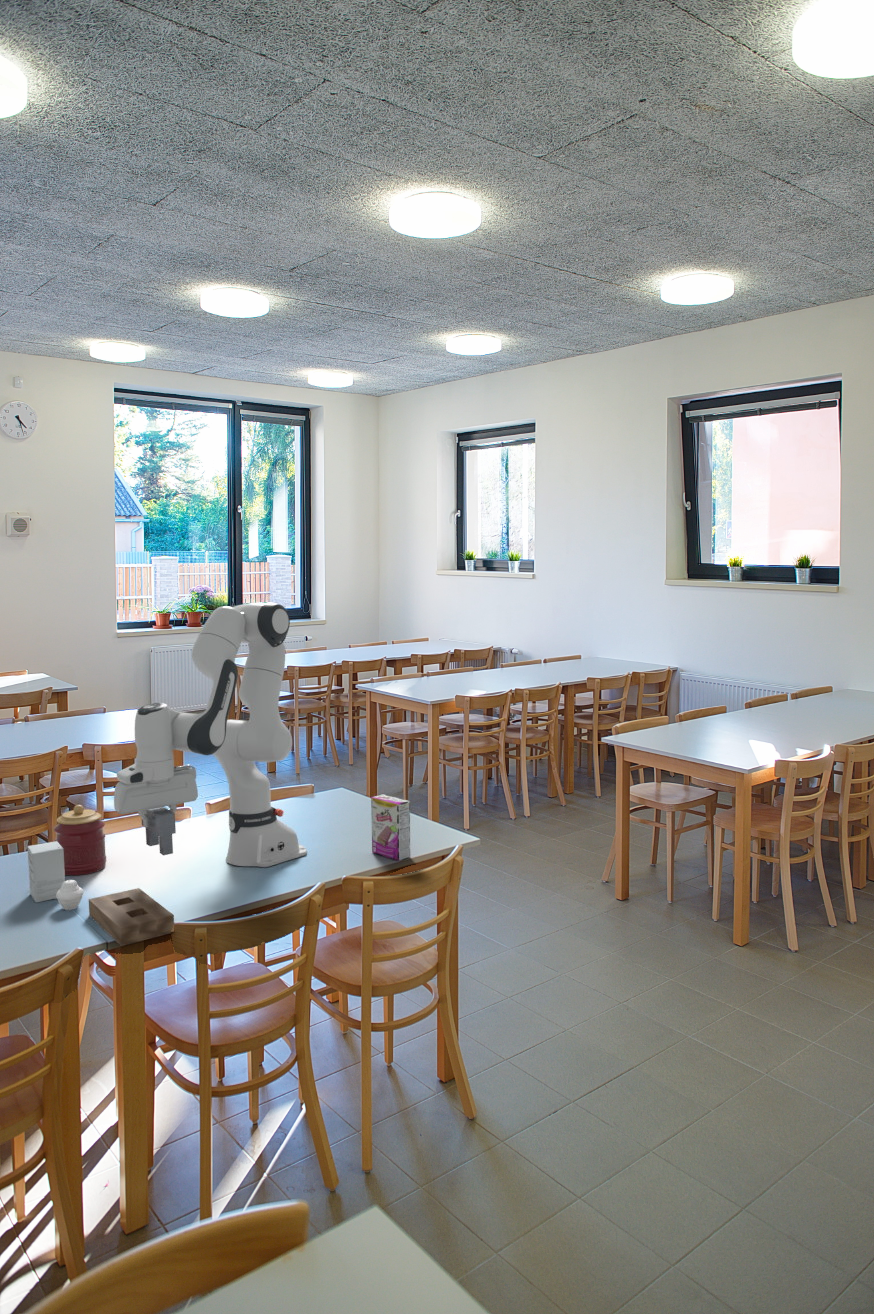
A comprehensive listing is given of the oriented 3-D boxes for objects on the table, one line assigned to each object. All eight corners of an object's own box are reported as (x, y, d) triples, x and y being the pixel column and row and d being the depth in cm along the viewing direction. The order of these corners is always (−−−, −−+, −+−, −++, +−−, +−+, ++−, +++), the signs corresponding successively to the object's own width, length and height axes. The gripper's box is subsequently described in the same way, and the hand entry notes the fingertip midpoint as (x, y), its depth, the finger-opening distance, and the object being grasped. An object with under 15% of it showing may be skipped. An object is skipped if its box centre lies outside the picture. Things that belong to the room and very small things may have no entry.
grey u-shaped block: (158, 841, 236) (156, 803, 235) (176, 853, 226) (174, 813, 225) (142, 844, 233) (140, 805, 232) (160, 856, 224) (158, 816, 223)
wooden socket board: (139, 904, 226) (138, 888, 225) (174, 932, 208) (173, 915, 208) (89, 915, 218) (88, 899, 218) (121, 946, 201) (120, 928, 201)
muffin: (78, 901, 228) (76, 873, 227) (88, 908, 223) (87, 879, 223) (52, 908, 224) (51, 879, 223) (62, 915, 219) (61, 886, 218)
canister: (44, 873, 249) (41, 808, 247) (79, 858, 261) (76, 797, 259) (83, 879, 244) (79, 813, 242) (117, 863, 256) (114, 801, 254)
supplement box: (60, 888, 237) (58, 840, 235) (66, 897, 231) (64, 848, 229) (29, 894, 233) (26, 845, 231) (34, 903, 227) (31, 853, 225)
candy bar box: (370, 853, 263) (370, 797, 261) (383, 849, 267) (382, 793, 265) (398, 862, 256) (397, 803, 254) (411, 857, 259) (410, 800, 257)
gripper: (190, 761, 236) (193, 814, 238) (110, 774, 224) (113, 829, 226) (200, 765, 231) (203, 819, 233) (118, 779, 219) (122, 835, 221)
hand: (158, 824), depth 229 cm, fingers closed on grey u-shaped block, 4 cm apart
